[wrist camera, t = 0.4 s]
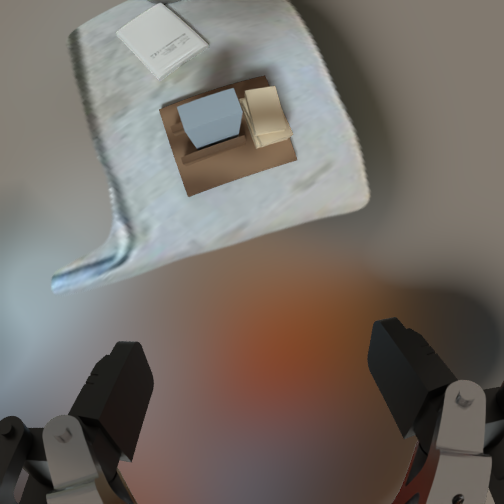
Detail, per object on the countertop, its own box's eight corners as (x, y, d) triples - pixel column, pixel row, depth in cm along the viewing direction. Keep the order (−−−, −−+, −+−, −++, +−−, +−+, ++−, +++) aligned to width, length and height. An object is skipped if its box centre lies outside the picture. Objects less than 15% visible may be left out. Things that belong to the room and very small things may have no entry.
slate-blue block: (192, 133, 31) (176, 106, 21) (231, 120, 31) (233, 87, 21) (198, 151, 32) (184, 131, 21) (238, 137, 32) (242, 111, 21)
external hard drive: (162, 7, 28) (209, 49, 30) (118, 37, 28) (160, 83, 31) (160, 1, 26) (208, 43, 29) (114, 32, 27) (157, 78, 29)
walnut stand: (160, 111, 31) (154, 103, 28) (264, 78, 31) (267, 67, 28) (189, 196, 34) (184, 196, 30) (295, 160, 34) (302, 157, 30)
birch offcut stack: (238, 102, 31) (239, 91, 27) (271, 93, 31) (276, 81, 27) (256, 150, 32) (259, 144, 28) (288, 140, 32) (297, 133, 28)
